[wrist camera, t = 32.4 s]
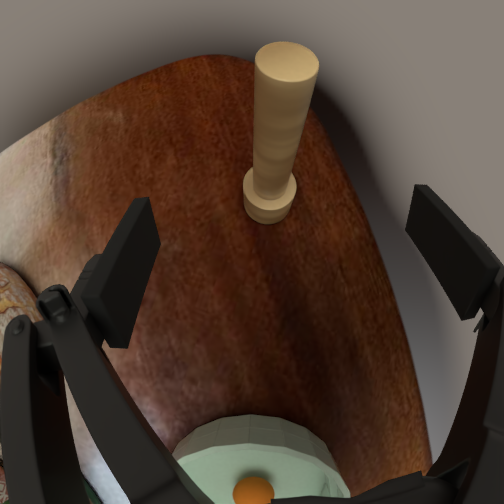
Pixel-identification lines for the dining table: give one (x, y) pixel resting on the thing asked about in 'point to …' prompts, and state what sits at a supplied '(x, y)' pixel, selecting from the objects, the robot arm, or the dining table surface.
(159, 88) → the dining table surface
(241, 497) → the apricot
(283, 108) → the muddler
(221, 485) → the bowl
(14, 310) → the bread
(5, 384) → the robot arm
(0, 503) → the planter
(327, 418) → the dining table surface
